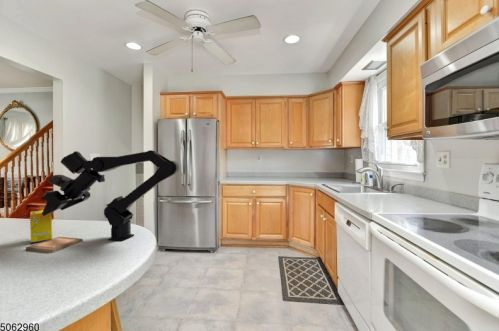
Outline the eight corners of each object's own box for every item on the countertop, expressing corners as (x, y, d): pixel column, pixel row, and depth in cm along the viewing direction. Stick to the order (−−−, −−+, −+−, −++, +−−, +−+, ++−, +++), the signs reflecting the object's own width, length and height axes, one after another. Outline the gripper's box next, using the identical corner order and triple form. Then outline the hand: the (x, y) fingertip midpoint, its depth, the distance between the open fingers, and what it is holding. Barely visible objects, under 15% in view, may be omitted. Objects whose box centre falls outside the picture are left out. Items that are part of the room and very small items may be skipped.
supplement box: (30, 240, 89) (30, 211, 88) (51, 237, 93) (51, 209, 92) (30, 244, 84) (29, 214, 84) (52, 240, 88) (51, 211, 88)
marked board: (59, 239, 90) (58, 236, 90) (82, 241, 87) (82, 238, 87) (26, 250, 79) (25, 246, 79) (52, 252, 77) (52, 249, 77)
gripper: (82, 166, 98) (54, 193, 97) (48, 168, 79) (13, 201, 79) (102, 185, 99) (74, 212, 98) (73, 191, 80) (39, 224, 80)
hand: (52, 211), depth 89 cm, fingers open, 9 cm apart
